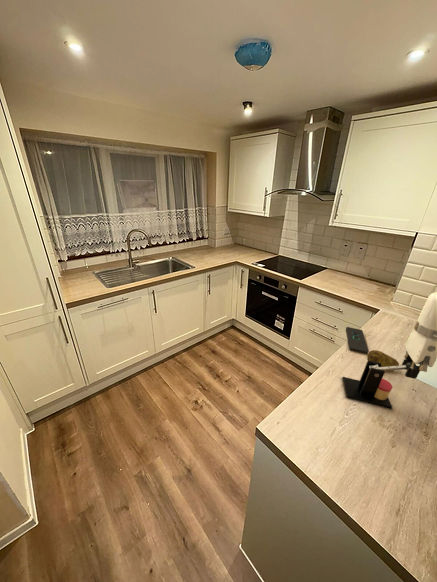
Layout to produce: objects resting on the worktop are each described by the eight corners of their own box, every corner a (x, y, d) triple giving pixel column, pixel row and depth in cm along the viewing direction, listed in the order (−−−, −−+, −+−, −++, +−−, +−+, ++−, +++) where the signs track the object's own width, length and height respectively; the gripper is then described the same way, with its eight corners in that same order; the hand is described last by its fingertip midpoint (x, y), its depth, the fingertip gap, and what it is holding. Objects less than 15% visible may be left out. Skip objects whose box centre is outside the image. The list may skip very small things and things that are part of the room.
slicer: (382, 388, 94) (395, 361, 88) (391, 409, 85) (405, 381, 79) (341, 378, 98) (351, 352, 92) (345, 397, 89) (356, 370, 83)
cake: (384, 390, 91) (389, 379, 89) (389, 402, 86) (394, 391, 84) (368, 386, 93) (372, 376, 90) (371, 397, 88) (376, 387, 85)
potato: (399, 379, 98) (406, 364, 95) (364, 369, 103) (370, 354, 100) (395, 366, 105) (401, 352, 102) (363, 357, 110) (368, 343, 106)
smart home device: (362, 329, 128) (369, 351, 111) (361, 332, 129) (368, 354, 112) (346, 326, 131) (349, 347, 114) (345, 328, 131) (348, 350, 114)
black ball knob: (415, 366, 83) (414, 359, 82) (419, 373, 80) (418, 365, 79) (369, 370, 88) (368, 363, 88) (372, 376, 86) (370, 369, 85)
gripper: (458, 348, 67) (431, 394, 75) (431, 319, 81) (410, 360, 89) (427, 342, 69) (404, 387, 77) (406, 315, 83) (388, 355, 91)
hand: (408, 372), depth 83 cm, fingers closed on black ball knob, 3 cm apart
